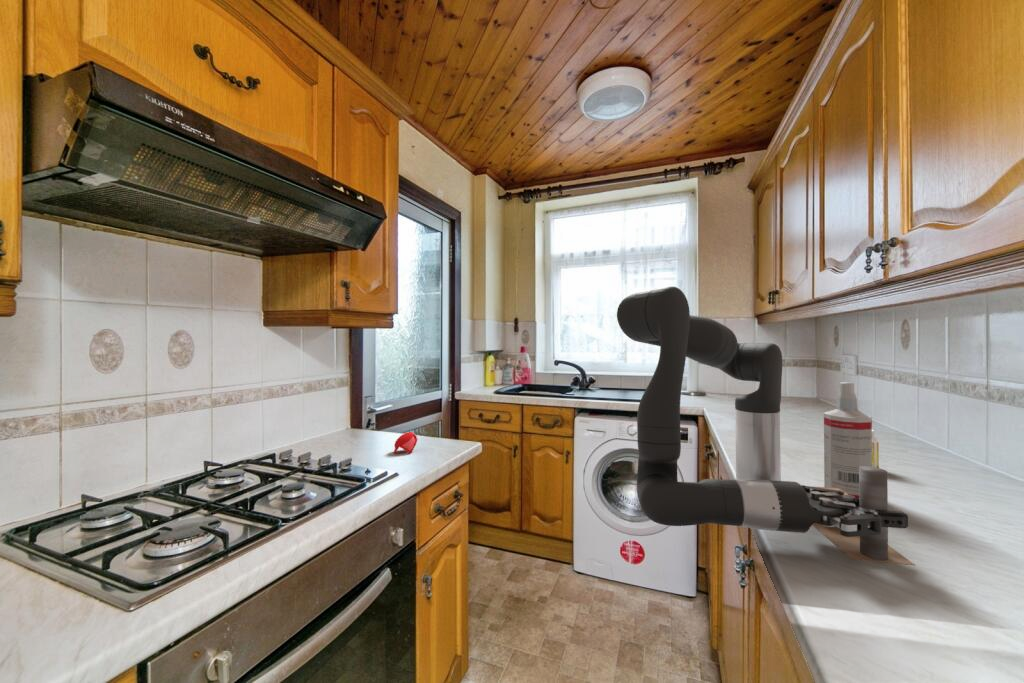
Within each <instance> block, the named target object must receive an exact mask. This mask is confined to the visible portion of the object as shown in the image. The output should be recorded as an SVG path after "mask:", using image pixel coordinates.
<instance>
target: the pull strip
mask: <svg viewBox="0 0 1024 683" xmlns="http://www.w3.org/2000/svg"><path fill="white" fill-rule="evenodd" d="M888 488H889V487H888V470H885V469H882V468H880V467H879V468H876V467H869V466H861V467H859V508H866V509H874V510H888V511H889V508H888V507H889V505H888V504H889V503H888V502H889V501H888V500H889V498H888V493H889V492H888ZM858 515H863V514H858ZM811 526H813V527H814V528H816V529H817V530H818V531H819V532H820V533H821V534H822V535H824V536H825V538H827V539H828V540H829V541H830V542H831V543H833V544H834V546H835V547H837V548H838V549H839V550H840V551H841V552H842V553H843V554H845V555H846V556H847V557H848V558H849V559H850V560H853V561H854V560H855V561H863V562H864V561H867V562H877V563H885V564H886V563H889V564H899V565H908V566H910V565H911V566H915V563H913V562H912V561H911V560H909V559H908V558H906V557H905V556H904V555H902V554H901V553H900V552H898V551H897V550H896V549H894V548H892V547H891V546H890V545H889V527H881V534H880V535H867V536H855V537H845V536H843V535H841V534H840V528H838V527H836V526H834V527H828V526H823V525H820V524H817V523H814V524H812V525H811Z"/></svg>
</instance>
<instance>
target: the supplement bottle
mask: <svg viewBox="0 0 1024 683" xmlns="http://www.w3.org/2000/svg"><path fill="white" fill-rule="evenodd" d="M879 450H880V448H879V439H878V438H877V437H875V430H874V429H872V467H876V468H880V467H879V466H880V465H879V461H880V460H879V459H880V458H879V457H880V456H879V454H880V453H879Z"/></svg>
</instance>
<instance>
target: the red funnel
mask: <svg viewBox="0 0 1024 683" xmlns="http://www.w3.org/2000/svg"><path fill="white" fill-rule="evenodd" d="M417 443H418V437H417V435H416V434H415V433H414V432H412V431H409V432H404V433H402V434H401V435H400V436H399V437H397V439H396V440H395V442H394V446H393V447H394V450H393V454H396V452H397V451H398V450H399V448H400V449H402V450H404V451H406V452H408V453H409V454H412V453H413V451H414V449H415V447H416V445H417Z"/></svg>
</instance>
